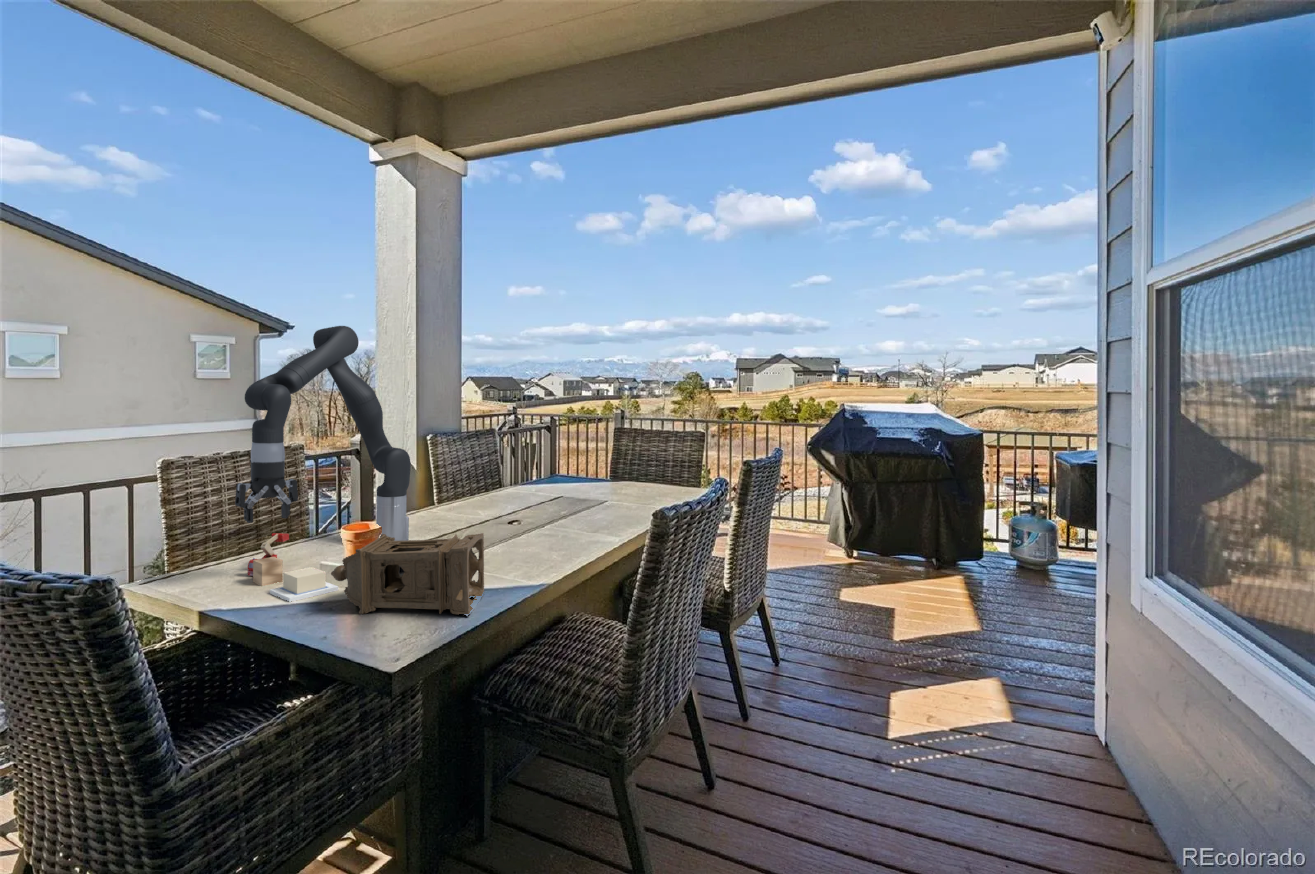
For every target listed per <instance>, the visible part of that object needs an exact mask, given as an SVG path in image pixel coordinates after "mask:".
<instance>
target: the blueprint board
mask: <svg viewBox="0 0 1315 874" xmlns="http://www.w3.org/2000/svg"><path fill="white" fill-rule="evenodd" d="M326 577H327V574H326V571H325V570H321V569H318V568H315V567H314V566H310V567H309V566H308V567H304V568H301V569H295V570H290V571H285V572H283V582H282V586H280V587H275V588H271V589H269V594H270V595H272V596H275V597H277V596H278V597H277V598H279V597H280V598H279V599H282V600H283V601H286V600H287V602H288V601H289V602H288V603H292V602H296V600H297V601H300V600H305V599H309V598H312V597H316V596H321V595H324V594H327V593H328V594H329V593H333V592H337V591H339V586H338V585H336V584H333V583H330V582H327V581H326V580H327V579H326ZM291 601H292V602H291Z"/></svg>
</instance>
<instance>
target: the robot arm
mask: <svg viewBox="0 0 1315 874" xmlns="http://www.w3.org/2000/svg"><path fill="white" fill-rule="evenodd" d="M312 339H313V340H312V342H313V347H314V349H313V350H311V351H308V352H307V353H305V354H302V355H300V356H298V357H296V358H294V359H292V360H291V361H290V362H288V363H287V364H286V365H284V366H283V367H282V368H280V369H279V370H278V371H277V372H275V373H273V374H270V375H267V376H265V377H263V378H261V379H258V380H257V381H256V380H255V382H253V383H252V384H251V385H249V386H248V387H247V389H246V390H245V393H244V402H245V404H246V405H247V406H248V407H249V408H251V409H252V410H256V411H266V413H265V416H264V418H263V419H258V420H255V421H254V422H253V423H252V427H251V448H250V482H249V483H242V482H241V483H240V482H238V483H237V484H236V485H235V486H236V487H235V490H236V491H235V501H234V505H235V506H236V507H239V508H242V509H243V519H244V521H246V523H248V524H252V523H254V508H253V507H254V505H255V504H256V503H258V502H259V501H260V499H268V498H274V499H275V498H277V499H278V500H279V501H280V502H282V503H281V507H280V508H281V509H280V510H281V511H280V512H281V515H280V516H281V519H289V516H290V515H291V504H292V503H295V502H298V500H299V492H298V480H297V479H293V478H289V479H288V480H285V468H286V467H285V463H286V461H285V459H286V455H285V454H286V451H285V444H284V443H285V441H284V440H285V439H284V438H285V437H284V436H285V435H284V433H285V431H284V430H285V429H284V427H285V424H286V421H287V418H288V416H289V412H290V409H291V406H292V395H291V394H295V393H298V392H300V390H301V389H303V388H304V387H305V386H306V385H307V384H309V383H310V382H311V381H312V380H314V379H315V378H316V377H318V375H320V374H321V373H322V372H323V371H325V370H327V371H328V373H329V374H330V376H331V377H332V379H333V381H334V383H335V385H336V387H337V389H338V391H339V393H340V395H341V396H342V399H343V401H344V403H345V405H346V407H347V409H348V410H347V411H348V412H349V414H350V416H351V418H352V419H353V422H354V423H355V425H356V428H357V430H358V432H359V433H360V436H361V438H362V440H363V443H364V444H365V447H366V451H367V453H368V456H369V458H370V461H371V464H372V466H373V468H374V469H375V470H376V471H377V472H378V473H380V474H384V475H383V482H382V484H381V485H379V486H377V488H376V501H375V502H376V509H375V510H376V519H375V520H376V521H375V523H376V524H378V525H379V526H381V527H382V534H386V536H389V537H392V538H393V537H394V538H395V540H394V541H406V540H409V535H410V534H409V532H410V531H409V527H410V517H409V516H407V497H408V496H407V491H408V489H409V486H410V482H411V481H410V479H411V478H410V477H411V457H410V454H409V452H407V451H406V449H403V448H400V447H394V446H392V445H391V443H390V442H389V440H388V438H387V436H386V434H385V430H384V424H383V423H384V416H383V415H384V414H383V413H384V412H383V408H382V406H381V402H380V401H379V398H378V396H377V393H376V392H375V391H374V389H373V388H372V387H371V385H370V384H368V383H367V382H366V381H365V380H363V379H362V378H361V377H360V376H359V375H357V373H356V372H354V371H353V370H352V369H351V367H350V366H349V364H348V363H347V361H346V359H345V358H348V357H349V356H351V355H353V354H354V353H355V352H356V351H357V350H358V347H359V336H358V335H357V333H356V331H355V330H354V329H353V328H351V327H350V326H347V325H335V326H329V327H326V328H325V327H324V328H321V329H317V330H316V331H315V332H314V334H313V337H312ZM285 486H286V487H287V488H288V496H287V494H286V493H285V492H284V488H285ZM249 489H250V490H251V493H250V494H249V495H248V497H247V499H246V493H247V492H248V490H249ZM376 524H375V525H376ZM382 534H381V535H382ZM380 537H381V536H380Z"/></svg>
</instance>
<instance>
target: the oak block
mask: <svg viewBox="0 0 1315 874" xmlns="http://www.w3.org/2000/svg"><path fill="white" fill-rule="evenodd" d="M257 559H258V560H253V576H252V577H253V578H252V579H253V580H252V583H253V582H255V583H254V584H256V585H258V586H261V587H265V586H270V585H275V584H278V583H277V582H279V583H283V573H284V572H283V571H284V570H283V569H284V568H283V565H284V564H283V561H284V560H283V559H282V558H281V559H280V558H279V557H277V558H276V557H269V558H264V559H261V558H257ZM274 583H275V584H274Z"/></svg>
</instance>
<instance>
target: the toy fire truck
mask: <svg viewBox="0 0 1315 874" xmlns="http://www.w3.org/2000/svg"><path fill="white" fill-rule="evenodd" d="M289 540H290V534H289V533H282V532H281V533H279V532H278V533H275V532H274V533H271V538H269V539H268V540H266V541H265V542H262V544H261V546H260V549H261V550H262V551H263V553H264V555H262V557H261V558H260V559H264V558H269V557H276V558H278V554H276V553H275V552H274V550H273V548H272V546H271V544H273V543H274V542H275V543H284V542H286V541H289ZM258 559H259V558H254V557H253V558H252V559H250V560H249V561H248V564H247V576H249V577H253V560H258Z"/></svg>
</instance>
